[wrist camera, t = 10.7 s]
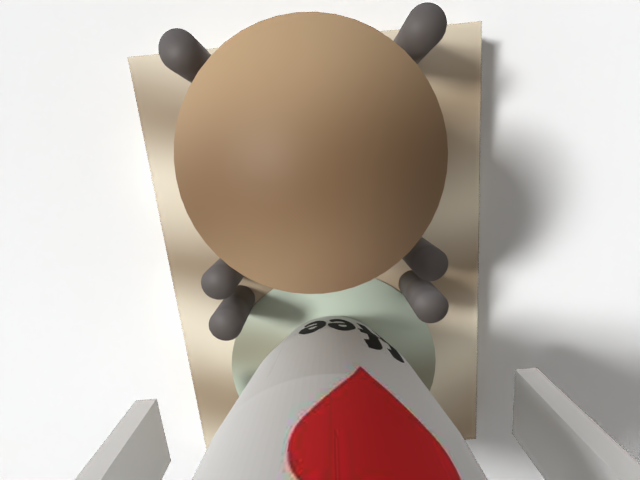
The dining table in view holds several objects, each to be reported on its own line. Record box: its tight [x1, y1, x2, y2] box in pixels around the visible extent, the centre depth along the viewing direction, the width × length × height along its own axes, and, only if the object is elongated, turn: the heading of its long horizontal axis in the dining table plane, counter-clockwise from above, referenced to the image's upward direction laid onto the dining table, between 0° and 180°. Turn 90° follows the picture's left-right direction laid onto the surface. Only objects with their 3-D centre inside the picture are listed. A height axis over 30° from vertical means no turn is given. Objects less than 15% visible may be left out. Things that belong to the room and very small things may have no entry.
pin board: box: [128, 3, 482, 449], centre depth 14 cm, size 18×13×4 cm
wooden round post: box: [174, 12, 448, 294], centre depth 10 cm, size 6×6×6 cm
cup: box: [192, 316, 487, 480], centre depth 10 cm, size 8×8×10 cm
